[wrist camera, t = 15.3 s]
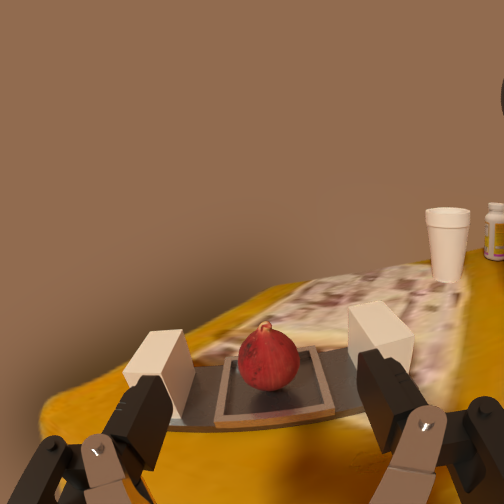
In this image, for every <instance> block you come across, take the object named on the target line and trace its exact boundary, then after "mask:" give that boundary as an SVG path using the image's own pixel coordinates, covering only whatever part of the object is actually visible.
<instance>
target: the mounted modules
mask: <svg viewBox="0 0 504 504" xmlns="http://www.w3.org/2000/svg"><path fill="white" fill-rule="evenodd" d="M414 340H415V334H414V333H413V332H412V331H411V330H410V329H409V328H408V327H407V326H406V325H405V324H404V323H403V322H402V321H401V320H400V319H399V318H398V317H397V316H396V314H395V313H394V312H393V311H392V310H391V309H390V308H389V307H388V306H387V305H386V304H385V303H384V302H383V301H382V300H379V301H374V302H369V303H365V304H360V305H355V306H350V307H348V353H349V355H350V357H351V359H352V361H353V363H354V365H355V368H356V370H357V362H358V353H359V352H363V351H367V350H371V349H375V348H377V349H378V350H379V351H380V353H381V354H382V356H383V358H384V359H386V358H389V357H392V358H393V359H395V360H396V361H398V362H400V363H401V365H402V366H403V367H404V369H405V370H406V373H408V374H409V369H410V364H411V358H412V353H413V346H414ZM195 373H196V371H195V368H194V365H193V362H192V359H191V356H190V353H189V349H188V346H187V343H186V340H185V336H184V333H183V330H182V329H180V330H166V331H151V332H150V333H149V334H148V336H147V337H146V338H145V340H144V341H143V343H142V345H141V346H140V347H139V349H138V350H137V352H136V353H135V355H134V356H133V358H132V359H131V361H130V362H129V363H128V365H127V366H126V368H125V369H124V371H123V374H124V376H125V378H126V381H127V383H128V385H129V387H130V388H131V387H132V386H136V384H137V382H138V380H139V378H140V377H141V376H142V375H159V376H160V377H161V378H162V380H163V382H164V385H165V387H166V389H167V391H168V394H169V396H170V398H171V400H172V403H173V414H172V417H171V418H173V419H181V417H182V414H183V411H184V408H185V404H186V401H187V398H188V395H189V392H190V388H191V385H192V382H193V379H194V376H195Z"/></svg>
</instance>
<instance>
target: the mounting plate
mask: <svg viewBox="0 0 504 504" xmlns="http://www.w3.org/2000/svg"><path fill="white" fill-rule="evenodd" d="M297 351H298V354H299V357H300V367H299V369H298V372H297V374H296V376H295V378H294V379H293V380H292V381H291V382H290V383H289V384H288V385H286V386H285V387H282V388H280V389H278V390H274V391H261V390H258V389H255V388H253V387H251V386H249V385H248V384H247V383H246V382H245V381H244V379H243V378H242V376H241V375H240V372H239V370H238V356H232V357H225V362H224V365H221V366H206V367H194V368H195V371H196V373H195V376H194V379H193V382H192V385H191V388H190V392H189V395H188V398H187V401H186V404H185V408H184V411H183V414H182V417H181V419H173V418H171V420H170V423H169V426H168V429H167V431H172V432H204V433H210V432H242V431H256V430H267V429H277V428H285V427H292V426H299V425H306V424H312V423H317V422H323V421H328V420H333V419H337V418H342V417H346V416H350V415H355V414H359V413H362V412H365V409H364V407H363V404H362V402H361V399H360V397H359V394H358V391H357V384H356V379H357V370H356V368H355V365H354V363H353V361H352V359H351V357H350V355H349V353H348V347H346V348H342V349H337V350H332V351H327V352H321V353H317V350H316V347H315V345H314V346H308V347H302V348H297ZM408 375H409V374H408ZM409 376H410V375H409ZM410 378H411V377H410ZM411 380H412V381H413V379H412V378H411ZM413 382H414V381H413ZM414 384H415V382H414ZM415 385H416V384H415ZM416 387H417V385H416ZM417 388H418V387H417ZM418 389H419V388H418Z"/></svg>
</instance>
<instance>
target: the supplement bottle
mask: <svg viewBox="0 0 504 504" xmlns="http://www.w3.org/2000/svg"><path fill="white" fill-rule="evenodd" d="M488 208H489V213H488V214H487V215H486V217H485V246H484V256H485V257H486V258H487V259H490V260H494V261H502V260H504V204H502V203H489V204H488Z"/></svg>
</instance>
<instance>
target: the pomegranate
mask: <svg viewBox="0 0 504 504" xmlns="http://www.w3.org/2000/svg"><path fill="white" fill-rule="evenodd" d="M299 367H300V357H299V354H298V351H297V348H296V346H295V344H294V343H293V341H292V340H291V339H290V338H288V337H287V336H286V335H285V334H283V333H282V332H280V331H277V330H274V329H272V325H271V324H270V322H268V321H266V322H262V323H261V324H260V325H259V327H258V328H257V330H256V331H254V332H253V333H251V334H250V335H249V336H248V337H247V338H246V340H245V341H244V342H243V344H242V345H241V347H240V350H239V356H238V370H239V372H240V375H241V376H242V378H243V379H244V381H245V382H246V383H247V384H248V385H249V386H251V387H253V388H255V389H258V390H261V391H274V390H278V389H280V388H282V387H285V386H286V385H288V384H289V383H290V382H291V381H292V380H293V379H294V378H295V376H296V374H297V372H298V369H299Z"/></svg>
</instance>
